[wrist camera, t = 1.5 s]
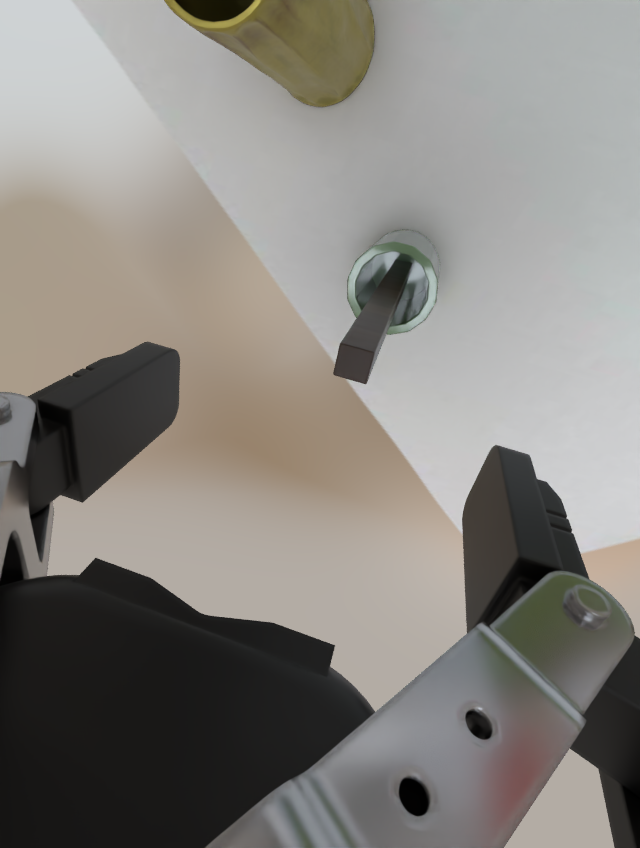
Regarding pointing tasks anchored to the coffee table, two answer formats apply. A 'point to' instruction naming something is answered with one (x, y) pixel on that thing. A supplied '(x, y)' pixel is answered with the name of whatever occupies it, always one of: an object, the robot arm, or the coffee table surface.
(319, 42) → the vase
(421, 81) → the coffee table surface
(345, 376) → the stirring stick
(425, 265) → the holder
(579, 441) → the coffee table surface
